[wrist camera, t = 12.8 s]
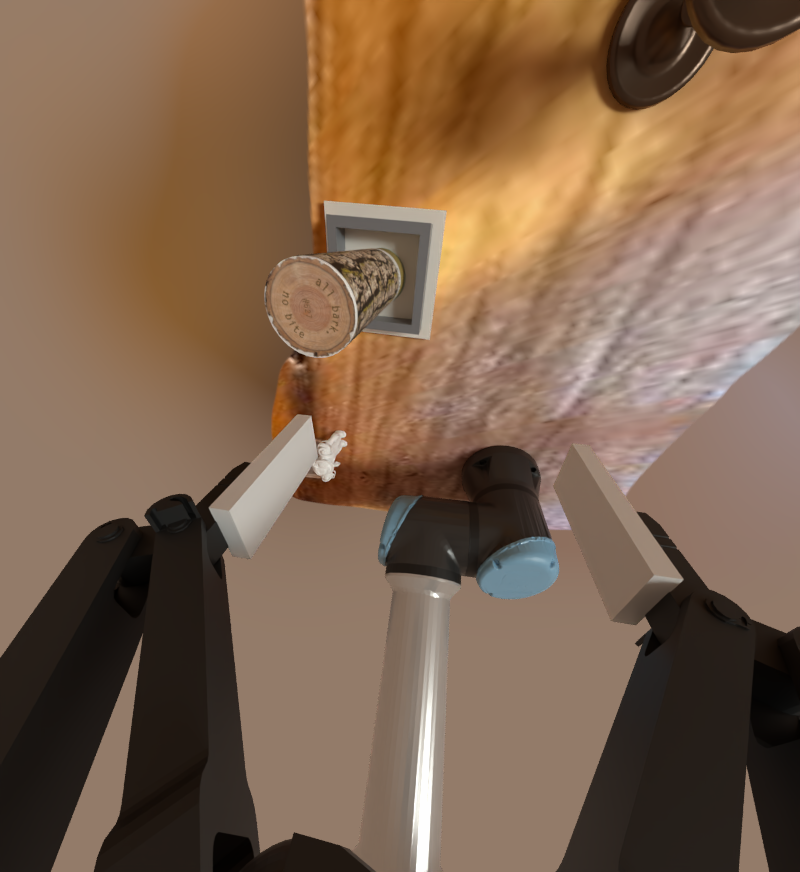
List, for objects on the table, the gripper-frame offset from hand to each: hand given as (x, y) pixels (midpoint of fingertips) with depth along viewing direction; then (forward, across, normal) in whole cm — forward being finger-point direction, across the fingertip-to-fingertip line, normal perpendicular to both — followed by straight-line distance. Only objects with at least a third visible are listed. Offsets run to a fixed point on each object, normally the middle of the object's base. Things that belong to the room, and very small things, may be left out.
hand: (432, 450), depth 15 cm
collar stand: (+35, +10, -5) cm, 36 cm away
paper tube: (+34, +10, -6) cm, 36 cm away
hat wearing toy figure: (+36, +19, +25) cm, 48 cm away
